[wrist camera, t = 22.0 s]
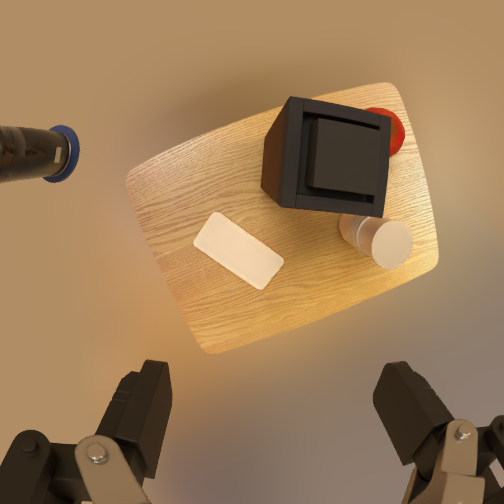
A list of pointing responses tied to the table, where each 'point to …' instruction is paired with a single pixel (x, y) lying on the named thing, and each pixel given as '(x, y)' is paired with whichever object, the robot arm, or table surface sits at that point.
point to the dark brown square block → (343, 157)
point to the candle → (378, 238)
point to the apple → (392, 129)
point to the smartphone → (238, 251)
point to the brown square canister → (295, 156)
